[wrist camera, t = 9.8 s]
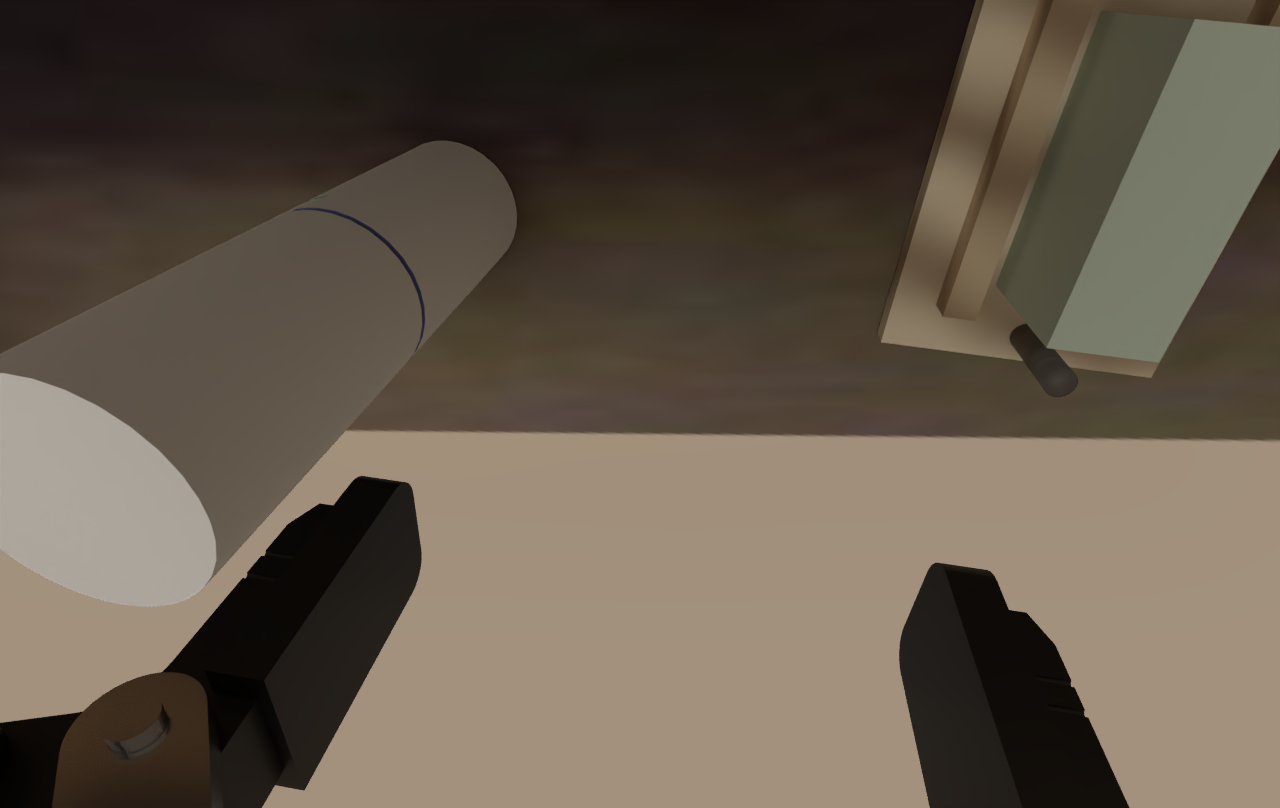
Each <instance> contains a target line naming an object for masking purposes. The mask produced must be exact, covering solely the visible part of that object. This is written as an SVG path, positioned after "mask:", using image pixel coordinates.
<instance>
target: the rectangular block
mask: <svg viewBox="0 0 1280 808" xmlns="http://www.w3.org/2000/svg"><path fill="white" fill-rule="evenodd" d="M1279 147H1280V27H1274V26H1263V25H1253V24H1242V23H1231V22H1221V21H1210V20H1200V19H1188V18H1177V17H1165V16H1153V15H1141V14H1129V13H1117V12H1105V11H1101V12H1100V15H1099V17H1098V20H1097V23H1096V25H1095V28H1094V30H1093V33H1092V36H1091V38H1090V41H1089V43H1088V46H1087V49H1086V51H1085V54H1084V56H1083V59H1082V62H1081V64H1080V67H1079V69H1078V72H1077V75H1076V77H1075V80H1074V82H1073V85H1072V88H1071V90H1070V93H1069V95H1068V98H1067V101H1066V103H1065V106H1064V108H1063V111H1062V114H1061V116H1060V119H1059V121H1058V124H1057V127H1056V129H1055V132H1054V134H1053V137H1052V140H1051V142H1050V145H1049V147H1048V150H1047V153H1046V155H1045V158H1044V160H1043V163H1042V166H1041V168H1040V171H1039V173H1038V176H1037V179H1036V181H1035V184H1034V186H1033V189H1032V192H1031V194H1030V197H1029V199H1028V202H1027V205H1026V207H1025V210H1024V212H1023V215H1022V218H1021V220H1020V223H1019V225H1018V228H1017V231H1016V233H1015V236H1014V238H1013V241H1012V244H1011V246H1010V249H1009V251H1008V254H1007V257H1006V259H1005V262H1004V264H1003V267H1002V270H1001V272H1000V275H999V277H998V280H997V283H996V286H997V287H998V289H999V290H1000V291H1001V292H1002V294H1003V295H1004V296H1005V297H1006V299H1007V300H1008V301H1009V302H1010V304H1011V305H1012V306H1013V307H1014V308H1015V310H1016V311H1017V312H1018V313H1019V315H1020V316H1021V317H1022V318H1023V320H1024V321H1025V322H1026V323H1027V325H1028V326H1029V327H1030V328H1031V330H1032V331H1033V332H1034V333H1035V334H1036V336H1037V337H1038V338H1039V339H1040V341H1041V342H1042V343H1043V344H1044V346H1045V347H1046V348H1050V349H1058V350H1065V351H1073V352H1081V353H1088V354H1096V355H1104V356H1111V357H1119V358H1127V359H1134V360H1142V361H1150V362H1157V363H1159V362H1160V360H1161V358H1162V356H1163V355H1164V353H1165V351H1166V349H1167V347H1168V346H1169V344H1170V342H1171V340H1172V339H1173V337H1174V335H1175V333H1176V331H1177V330H1178V328H1179V326H1180V324H1181V322H1182V321H1183V319H1184V317H1185V315H1186V313H1187V312H1188V310H1189V308H1190V306H1191V305H1192V303H1193V301H1194V299H1195V297H1196V296H1197V294H1198V292H1199V290H1200V288H1201V287H1202V285H1203V283H1204V281H1205V279H1206V278H1207V276H1208V274H1209V272H1210V270H1211V269H1212V267H1213V265H1214V263H1215V262H1216V260H1217V258H1218V256H1219V254H1220V253H1221V251H1222V249H1223V247H1224V245H1225V244H1226V242H1227V240H1228V238H1229V236H1230V235H1231V233H1232V231H1233V229H1234V228H1235V226H1236V224H1237V222H1238V220H1239V219H1240V217H1241V215H1242V213H1243V211H1244V210H1245V208H1246V206H1247V204H1248V202H1249V201H1250V199H1251V197H1252V195H1253V194H1254V192H1255V190H1256V188H1257V186H1258V185H1259V183H1260V181H1261V179H1262V177H1263V176H1264V174H1265V172H1266V170H1267V168H1268V167H1269V165H1270V163H1271V161H1272V159H1273V158H1274V156H1275V154H1276V152H1277V151H1278V149H1279Z"/></svg>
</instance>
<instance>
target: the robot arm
mask: <svg viewBox="0 0 1280 808" xmlns="http://www.w3.org/2000/svg"><path fill="white" fill-rule="evenodd" d="M420 567H421V545H420V538H419V531H418V525H417V517H416V510H415V503H414V496H413V490H412V488H411V486H410V485H409V484H408V483H406V482H399V481H392V480H386V479H379V478H372V477H366V476H360V477H357V478H356V479H354V480H353V482H352V483H351V484H350V485H349V486H348V488H347V489H346V490H345V491H344V493H343V494H342V495H341V496H340V498H339V499H338V500H337V502H336V503H335V504H334V505H326V504H318V505H317V506H315V507H314V508H312V509H311V510H309V511H307V512H306V513H304V514H303V515H301V516H300V517H298V518H297V519H295V520H294V521H292V522H291V523H289V524H288V525H287V526H286V527H285V528H284V529H283V531H282V532H281V533H280V534H279V536H278V537H277V538H276V539H275V540H274V541H273V543H272V544H271V545H270V546H269V547H268V549H267V550H266V554H265V556H261V557H260V558H259V559H258V560H257V562H256V563H255V564H254V565H253V566H252V567H251V569H250V570H249V571H248V572H247V577H246V578H245V579H244V578H242V579H241V581H240V582H239V583H238V584H237V585H236V587H235V588H234V589H233V590H232V591H231V593H230V594H229V595H228V596H227V597H226V598H225V600H224V601H223V602H222V603H221V604H220V606H219V607H218V608H217V609H216V610H215V611H214V613H213V614H212V615H211V616H210V617H209V619H208V620H207V621H206V622H205V623H204V625H203V626H202V627H201V628H200V629H199V631H198V632H197V633H196V634H195V635H194V636H193V638H192V639H191V640H190V641H189V642H188V644H187V645H186V646H185V647H184V648H183V649H182V651H181V652H180V653H179V654H178V656H177V657H176V658H175V659H174V660H173V661H172V662H171V663H170V665H169V666H168V667H167V668H166V669H165V670H164V671H163V672H161V673H155V674H149V675H145V676H142V677H138V678H136V679H133V680H130V681H128V682H125V683H123V684H121V685H119V686H117V687H115V688H114V689H112V690H110V691H109V692H107V693H105V694H104V695H102V696H101V697H100V698H98V699H97V700H96V701H94V702H93V703H92V704H91V705H90V706H89V707H88V708H87V709H85V710H84V711H83V712H79V713H72V714H66V715H57V716H49V717H42V718H34V719H27V720H20V721H12V722H5V723H0V808H262V806H263V805H264V803H265V801H266V800H267V798H268V796H269V794H270V793H271V791H272V789H273V787H274V786H275V785H278V786H284V787H288V788H294V789H299V790H305V788H306V786H307V785H308V783H309V781H310V779H311V777H312V775H313V774H314V772H315V770H316V768H317V766H318V764H319V763H320V761H321V759H322V757H323V755H324V753H325V752H326V750H327V748H328V746H329V744H330V742H331V741H332V738H333V737H334V735H335V733H336V731H337V730H338V728H339V726H340V724H341V722H342V721H343V719H344V717H345V715H346V713H347V711H348V710H349V708H350V706H351V704H352V702H353V700H354V699H355V697H356V695H357V693H358V691H359V689H360V687H361V686H362V684H363V682H364V680H365V678H366V677H367V675H368V673H369V671H370V669H371V667H372V666H373V664H374V662H375V660H376V658H377V656H378V655H379V653H380V651H381V649H382V647H383V645H384V644H385V642H386V640H387V638H388V636H389V635H390V633H391V631H392V629H393V627H394V625H395V624H396V621H397V620H398V618H399V616H400V614H401V613H402V611H403V609H404V607H405V605H406V604H407V602H408V600H409V598H410V596H411V594H412V592H413V590H414V588H415V586H416V583H417V580H418V576H419V572H420ZM899 661H900V670H901V676H902V681H903V685H904V690H905V695H906V699H907V704H908V708H909V713H910V718H911V722H912V727H913V732H914V736H915V741H916V745H917V750H918V754H919V759H920V764H921V769H922V773H923V778H924V782H925V787H926V792H927V796H928V801H929V806H930V808H1129V806H1128V804H1127V802H1126V800H1125V797H1124V795H1123V793H1122V791H1121V789H1120V786H1119V784H1118V782H1117V780H1116V778H1115V775H1114V773H1113V771H1112V769H1111V767H1110V765H1109V762H1108V760H1107V758H1106V756H1105V754H1104V751H1103V749H1102V747H1101V745H1100V742H1099V740H1098V738H1097V736H1096V734H1095V731H1094V729H1093V727H1092V725H1091V723H1090V721H1089V718H1087V717H1085V716H1084V710H1085V709H1084V707H1083V705H1082V703H1081V701H1080V699H1079V696H1078V695H1077V692H1076V690H1075V688H1074V687H1071V679H1070V677H1069V674H1068V672H1067V670H1066V668H1065V666H1064V663H1063V661H1062V659H1061V657H1060V655H1059V652H1058V650H1057V648H1056V646H1055V644H1054V643H1053V642H1052V641H1051V640H1050V639H1049V638H1048V636H1047V635H1046V634H1045V633H1044V632H1043V631H1042V630H1041V629H1040V627H1039V626H1038V625H1037V624H1036V623H1035V622H1034V621H1033V620H1032V618H1030V616H1029V615H1028V614H1027V613H1025V612H1018V611H1012V610H1009V609H1008V607H1007V604H1006V602H1005V599H1004V597H1003V595H1002V592H1001V590H1000V587H999V585H998V582H997V580H996V578H995V576H994V575H993V574H992V573H991V572H990V571H988V570H983V569H976V568H969V567H963V566H956V565H949V564H942V563H934V564H933V565H931V567H930V568H929V570H928V572H927V574H926V576H925V579H924V581H923V584H922V586H921V588H920V591H919V593H918V595H917V598H916V600H915V602H914V605H913V607H912V609H911V612H910V614H909V617H908V619H907V621H906V624H905V626H904V628H903V631H902V635H901V640H900V650H899Z"/></svg>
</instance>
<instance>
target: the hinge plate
mask: <svg viewBox="0 0 1280 808" xmlns="http://www.w3.org/2000/svg"><path fill="white" fill-rule="evenodd" d="M1101 11H1105V12H1117V13H1129V14H1141V15H1153V16H1165V17H1177V18H1188V19H1200V20H1210V21H1221V22H1231V23H1242V24H1253V25H1263V26H1274V27H1280V0H976V2H975V5H974V8H973V12H972V15H971V18H970V22H969V25H968V29H967V32H966V35H965V39H964V42H963V45H962V49H961V52H960V56H959V59H958V62H957V66H956V69H955V72H954V76H953V79H952V82H951V86H950V89H949V93H948V96H947V99H946V103H945V106H944V109H943V113H942V116H941V120H940V123H939V126H938V130H937V133H936V136H935V140H934V143H933V146H932V150H931V153H930V157H929V160H928V163H927V167H926V170H925V173H924V177H923V180H922V184H921V187H920V190H919V194H918V197H917V200H916V204H915V207H914V211H913V214H912V217H911V221H910V224H909V227H908V231H907V234H906V237H905V241H904V244H903V248H902V251H901V254H900V258H899V261H898V264H897V268H896V271H895V275H894V278H893V281H892V285H891V288H890V291H889V295H888V298H887V301H886V305H885V308H884V312H883V315H882V318H881V322H880V325H879V328H878V332H877V333H878V336H879V339H880V341H881V342H883V343H891V344H898V345H906V346H913V347H921V348H929V349H936V350H944V351H951V352H959V353H967V354H974V355H982V356H989V357H997V358H1004V359H1012V360H1020V361H1024V362H1025V364H1026V365H1027V367H1028V368H1029V369H1030V371H1031V372H1032V373H1033V375H1034V376H1035V378H1036V379H1037V380H1038V382H1039V383H1040V385H1041V386H1042V387H1043V389H1044V390H1045V392H1046V393H1047V394H1048V395H1050V396H1053V397H1062V396H1066V395H1068V394H1070V393H1071V392H1072V391H1073V390H1074V389H1075V388H1076V387H1077V384H1078V378H1077V376H1076V375H1075V373H1074V372H1073V371H1072V370H1071V369H1070V367H1073V368H1080V369H1088V370H1096V371H1103V372H1111V373H1118V374H1126V375H1133V376H1141V377H1149V378H1151V377H1152V375H1153V374H1154V372H1155V370H1156V368H1157V367H1158V365H1159V363H1160V362H1159V363H1157V362H1150V361H1142V360H1134V359H1127V358H1119V357H1111V356H1104V355H1096V354H1088V353H1081V352H1073V351H1065V350H1058V349H1050V348H1046V347H1045V346H1044V344H1043V343H1042V342H1041V341H1040V339H1039V338H1038V337H1037V336H1036V334H1035V333H1034V332H1033V331H1032V330H1031V328H1030V327H1029V326H1028V325H1027V323H1026V322H1025V321H1024V320H1023V318H1022V317H1021V316H1020V315H1019V313H1018V312H1017V311H1016V310H1015V308H1014V307H1013V306H1012V305H1011V304H1010V302H1009V301H1008V300H1007V299H1006V297H1005V296H1004V295H1003V294H1002V292H1001V291H1000V290H999V289H998V287H997V286H996V283H997V280H998V277H999V275H1000V272H1001V270H1002V267H1003V264H1004V262H1005V259H1006V257H1007V254H1008V251H1009V249H1010V246H1011V244H1012V241H1013V238H1014V236H1015V233H1016V231H1017V228H1018V225H1019V223H1020V220H1021V218H1022V215H1023V212H1024V210H1025V207H1026V205H1027V202H1028V199H1029V197H1030V194H1031V192H1032V189H1033V186H1034V184H1035V181H1036V179H1037V176H1038V173H1039V171H1040V168H1041V166H1042V163H1043V160H1044V158H1045V155H1046V153H1047V150H1048V147H1049V145H1050V142H1051V140H1052V137H1053V134H1054V132H1055V129H1056V127H1057V124H1058V121H1059V119H1060V116H1061V114H1062V111H1063V108H1064V106H1065V103H1066V101H1067V98H1068V95H1069V93H1070V90H1071V88H1072V85H1073V82H1074V80H1075V77H1076V75H1077V72H1078V69H1079V67H1080V64H1081V62H1082V59H1083V56H1084V54H1085V51H1086V49H1087V46H1088V43H1089V41H1090V38H1091V36H1092V33H1093V30H1094V28H1095V25H1096V23H1097V20H1098V17H1099V15H1100V12H1101ZM1279 148H1280V147H1279ZM1278 150H1279V149H1278ZM1277 152H1278V151H1277ZM1277 152H1276V154H1277ZM1276 154H1275V155H1276ZM1274 157H1275V156H1274ZM1273 159H1274V158H1273ZM1273 159H1272V161H1273ZM1272 161H1271V163H1272ZM1271 163H1270V164H1271ZM1269 166H1270V165H1269ZM1268 168H1269V167H1268ZM1268 168H1267V170H1268ZM1267 170H1266V171H1267ZM1265 173H1266V172H1265ZM1264 175H1265V174H1264ZM1263 177H1264V176H1263ZM1263 177H1262V179H1263ZM1262 179H1261V180H1262ZM1260 182H1261V181H1260ZM1259 184H1260V183H1259ZM1258 186H1259V185H1258ZM1258 186H1257V188H1258ZM1257 188H1256V189H1257ZM1255 191H1256V190H1255ZM1254 193H1255V192H1254ZM1253 195H1254V194H1253ZM1253 195H1252V197H1253ZM1252 197H1251V198H1252ZM1250 200H1251V199H1250ZM1249 202H1250V201H1249ZM1249 202H1248V204H1249ZM1248 204H1247V205H1248ZM1246 207H1247V206H1246ZM1245 209H1246V208H1245ZM1244 211H1245V210H1244ZM1244 211H1243V213H1244ZM1243 213H1242V214H1243ZM1241 216H1242V215H1241ZM1240 218H1241V217H1240ZM1239 220H1240V219H1239ZM1239 220H1238V222H1239ZM1238 222H1237V223H1238ZM1236 225H1237V224H1236ZM1235 227H1236V226H1235ZM1234 229H1235V228H1234ZM1234 229H1233V231H1234ZM1233 231H1232V232H1233ZM1231 234H1232V233H1231ZM1230 236H1231V235H1230ZM1230 236H1229V238H1230ZM1229 238H1228V239H1229ZM1227 241H1228V240H1227ZM1226 243H1227V242H1226ZM1225 245H1226V244H1225ZM1225 245H1224V247H1225ZM1224 247H1223V248H1224ZM1222 250H1223V249H1222ZM1221 252H1222V251H1221ZM1220 254H1221V253H1220ZM1220 254H1219V256H1220ZM1219 256H1218V257H1219ZM1217 259H1218V258H1217ZM1216 261H1217V260H1216ZM1215 263H1216V262H1215ZM1215 263H1214V265H1215ZM1214 265H1213V266H1214ZM1212 268H1213V267H1212ZM1211 270H1212V269H1211ZM1211 270H1210V272H1211ZM1210 272H1209V273H1210ZM1208 275H1209V274H1208ZM1207 277H1208V276H1207ZM1206 279H1207V278H1206ZM1206 279H1205V281H1206ZM1205 281H1204V282H1205ZM1203 284H1204V283H1203ZM1202 286H1203V285H1202ZM1201 288H1202V287H1201ZM1201 288H1200V290H1201ZM1200 290H1199V291H1200ZM1198 293H1199V292H1198ZM1197 295H1198V294H1197ZM1196 297H1197V296H1196ZM1196 297H1195V299H1196ZM1195 299H1194V300H1195ZM1193 302H1194V301H1193ZM1192 304H1193V303H1192ZM1191 306H1192V305H1191ZM1191 306H1190V307H1191ZM1189 309H1190V308H1189ZM1188 311H1189V310H1188ZM1187 313H1188V312H1187ZM1187 313H1186V315H1187ZM1186 315H1185V316H1186ZM1184 318H1185V317H1184ZM1183 320H1184V319H1183ZM1182 322H1183V321H1182ZM1182 322H1181V324H1182ZM1181 324H1180V325H1181ZM1179 327H1180V326H1179ZM1178 329H1179V328H1178ZM1177 331H1178V330H1177ZM1177 331H1176V333H1177ZM1176 333H1175V334H1176ZM1174 336H1175V335H1174ZM1173 338H1174V337H1173ZM1172 340H1173V339H1172ZM1172 340H1171V341H1172ZM1170 343H1171V342H1170ZM1169 345H1170V344H1169ZM1168 347H1169V346H1168ZM1168 347H1167V349H1168ZM1167 349H1166V350H1167ZM1165 352H1166V351H1165ZM1164 354H1165V353H1164ZM1163 356H1164V355H1163ZM1163 356H1162V358H1163ZM1162 358H1161V359H1162ZM1160 361H1161V360H1160Z"/></svg>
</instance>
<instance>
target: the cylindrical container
mask: <svg viewBox="0 0 1280 808" xmlns="http://www.w3.org/2000/svg"><path fill="white" fill-rule="evenodd" d="M516 227H517V211H516V204H515V200H514V197H513V194H512V191H511V188H510V187H509V185H508V183H507V181H506V179H505V177H504V176H503V175H502V173H501V172H500V171H499V169H498V168H497V167H496V166H495V165H494V164H493V163H492V162H491V161H490V160H489V159H488V158H487V157H485V156H484V155H483V154H481V153H480V152H478V151H476V150H475V149H473V148H471V147H469V146H466V145H463V144H461V143H457V142H451V141H433V142H429V143H425V144H422V145H420V146H418V147H416V148H414V149H412V150H410V151H408V152H406V153H404V154H402V155H400V156H398V157H396V158H394V159H392V160H390V161H388V162H385V163H383V164H381V165H379V166H377V167H375V168H373V169H371V170H369V171H367V172H365V173H363V174H361V175H359V176H357V177H355V178H353V179H351V180H349V181H347V182H345V183H343V184H341V185H339V186H337V187H335V188H333V189H331V190H329V191H327V192H325V193H323V194H321V195H319V196H317V197H315V198H313V199H311V200H309V201H307V202H305V203H303V204H301V205H298V206H296V207H294V208H292V209H290V210H288V211H286V212H284V213H282V214H280V215H278V216H276V217H274V218H272V219H270V220H268V221H266V222H264V223H262V224H260V225H258V226H256V227H254V228H252V229H250V230H248V231H246V232H244V233H242V234H240V235H238V236H236V237H234V238H232V239H230V240H228V241H226V242H224V243H222V244H220V245H218V246H216V247H214V248H212V249H210V250H208V251H206V252H204V253H202V254H200V255H198V256H196V257H194V258H192V259H190V260H188V261H186V262H184V263H182V264H180V265H178V266H176V267H174V268H172V269H170V270H168V271H166V272H164V273H162V274H160V275H158V276H156V277H154V278H152V279H150V280H148V281H146V282H144V283H142V284H140V285H138V286H136V287H134V288H132V289H130V290H128V291H126V292H123V293H121V294H119V295H117V296H115V297H113V298H111V299H109V300H107V301H105V302H103V303H101V304H99V305H97V306H95V307H93V308H91V309H89V310H87V311H85V312H83V313H81V314H79V315H77V316H75V317H73V318H71V319H69V320H67V321H65V322H63V323H61V324H59V325H57V326H55V327H53V328H51V329H49V330H47V331H45V332H43V333H41V334H39V335H37V336H35V337H33V338H31V339H29V340H27V341H25V342H23V343H21V344H19V345H17V346H15V347H13V348H11V349H9V350H7V351H5V352H3V353H1V354H0V549H1V550H2V551H3V552H5V553H6V554H8V555H9V556H11V557H12V558H13V559H15V560H16V561H18V562H19V563H21V564H22V565H23V566H25V567H27V568H29V569H31V570H32V571H34V572H36V573H38V574H39V575H41V576H43V577H45V578H47V579H48V580H50V581H52V582H55V583H57V584H59V585H61V586H64V587H66V588H68V589H70V590H73V591H75V592H77V593H80V594H84V595H87V596H90V597H93V598H96V599H99V600H103V601H107V602H112V603H117V604H122V605H127V606H140V607H155V606H167V605H171V604H174V603H178V602H181V601H185V600H187V599H189V598H190V597H192V596H193V595H194V594H196V593H198V592H200V591H201V590H202V589H203V588H204V587H205V586H206V585H207V583H208V582H209V581H210V580H211V579H212V578H213V577H214V576H215V575H216V573H217V572H218V571H219V570H220V569H221V568H222V567H223V566H224V565H225V564H226V562H227V561H228V560H229V559H230V558H231V557H232V556H233V555H234V553H235V552H236V551H237V550H238V549H239V548H240V547H241V546H242V545H243V544H244V542H245V541H246V540H247V539H248V538H249V537H250V536H251V535H252V534H253V533H254V531H255V530H256V529H257V528H258V527H259V526H260V525H261V524H262V523H263V521H264V520H265V519H266V518H267V517H268V516H269V515H270V514H271V513H272V512H273V510H274V509H275V508H276V507H277V506H278V505H279V504H280V503H281V502H282V500H283V499H284V498H285V497H286V496H287V495H288V494H289V493H290V492H291V491H292V489H293V488H294V487H295V486H296V485H297V484H298V483H299V482H300V481H301V479H302V478H303V477H304V476H305V475H306V474H307V472H309V470H310V469H311V468H312V467H313V466H314V465H315V464H316V463H317V462H318V461H319V459H320V458H321V457H322V456H323V455H324V454H325V453H326V452H327V451H328V450H329V448H330V447H331V446H332V445H333V444H334V443H335V442H336V441H337V439H338V438H339V437H340V436H341V435H342V434H343V433H344V432H345V431H346V430H347V428H348V427H349V426H350V425H351V424H352V423H353V422H354V421H355V419H356V418H357V417H358V416H359V415H360V414H361V413H362V412H363V411H364V409H365V408H366V407H367V406H368V405H369V404H370V403H371V402H372V401H373V399H374V398H375V397H376V396H377V395H378V394H379V393H380V392H381V391H382V389H383V388H384V387H385V386H386V385H387V384H388V383H389V382H390V381H391V379H392V378H393V377H394V376H395V375H396V374H397V373H398V372H399V371H400V369H401V368H402V367H403V366H404V365H405V364H406V363H407V361H409V359H410V358H411V357H412V356H413V355H414V354H415V353H416V352H417V351H418V349H419V348H420V347H421V346H422V345H423V344H424V343H425V342H426V341H427V340H428V338H429V337H430V336H431V335H432V334H433V333H434V332H435V331H436V330H437V328H438V327H439V326H440V325H441V324H442V323H443V322H444V321H445V320H446V318H447V317H448V316H449V315H450V314H451V313H452V312H453V311H454V310H455V309H456V307H457V306H458V305H459V304H460V303H461V302H462V301H463V300H464V299H465V297H466V296H467V295H468V294H469V293H470V292H471V291H472V290H473V289H474V287H475V286H476V285H477V284H478V283H479V282H480V281H481V280H482V279H483V277H484V276H485V275H486V274H487V273H488V272H489V271H490V270H491V268H492V267H493V266H494V265H495V264H496V263H497V262H498V261H499V260H500V258H501V257H502V256H503V255H504V254H505V252H506V251H507V250H508V249H509V247H510V245H511V243H512V241H513V239H514V235H515V231H516Z"/></svg>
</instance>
